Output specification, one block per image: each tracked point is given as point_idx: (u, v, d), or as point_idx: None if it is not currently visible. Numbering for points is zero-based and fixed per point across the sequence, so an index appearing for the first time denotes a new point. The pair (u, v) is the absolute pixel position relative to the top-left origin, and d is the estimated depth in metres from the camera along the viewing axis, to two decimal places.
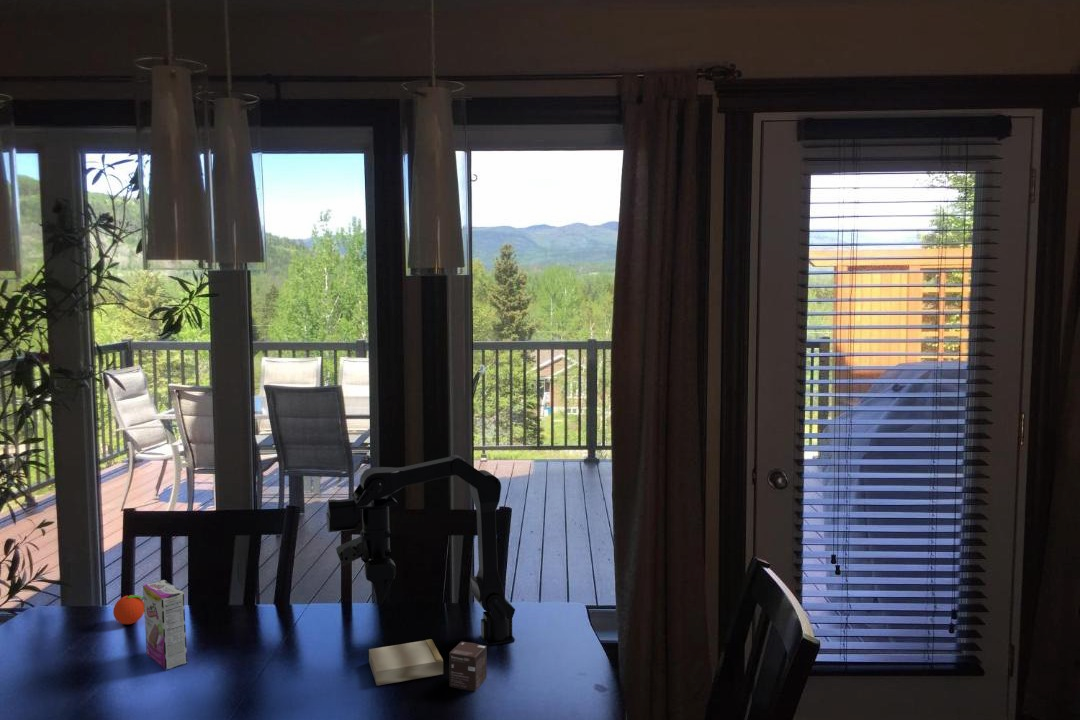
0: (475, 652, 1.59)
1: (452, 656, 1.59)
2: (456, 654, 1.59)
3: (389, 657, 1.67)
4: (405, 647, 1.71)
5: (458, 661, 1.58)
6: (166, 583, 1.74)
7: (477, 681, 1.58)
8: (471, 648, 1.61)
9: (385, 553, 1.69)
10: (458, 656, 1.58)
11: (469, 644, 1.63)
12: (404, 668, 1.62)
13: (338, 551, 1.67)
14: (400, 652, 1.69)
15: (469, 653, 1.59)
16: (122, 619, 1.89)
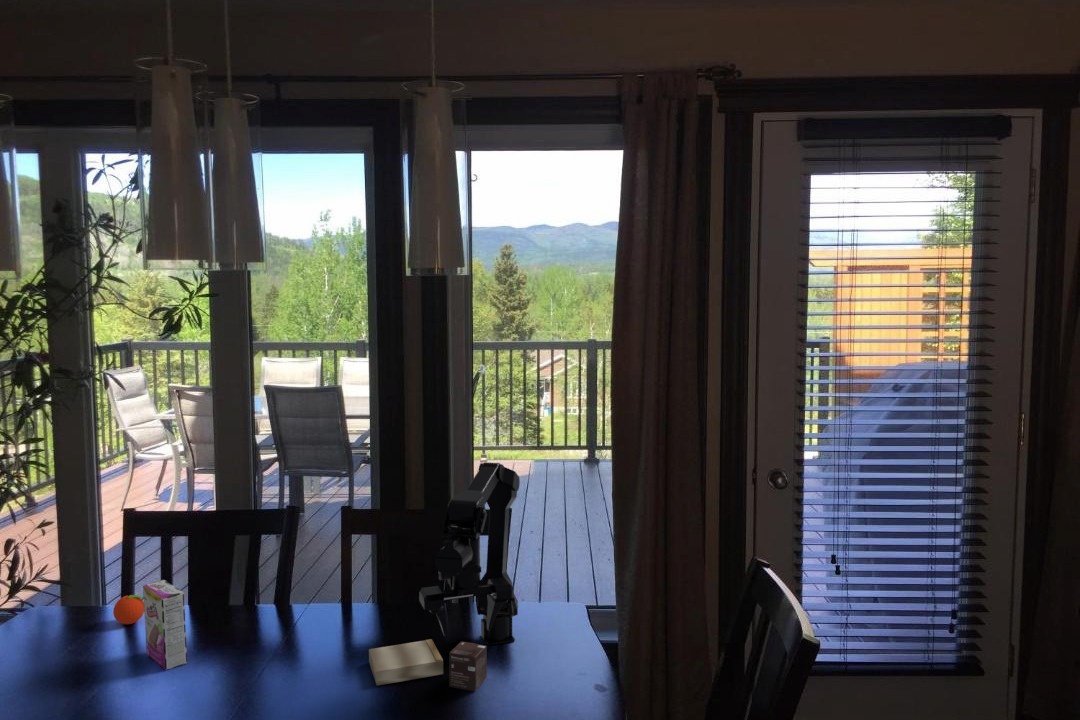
0: (475, 652, 1.59)
1: (452, 656, 1.59)
2: (456, 654, 1.59)
3: (389, 657, 1.67)
4: (405, 647, 1.71)
5: (458, 661, 1.58)
6: (166, 583, 1.74)
7: (477, 681, 1.58)
8: (471, 648, 1.61)
9: (457, 589, 1.58)
10: (458, 656, 1.58)
11: (469, 644, 1.63)
12: (404, 668, 1.62)
13: None
14: (400, 652, 1.69)
15: (469, 653, 1.59)
16: (122, 619, 1.89)
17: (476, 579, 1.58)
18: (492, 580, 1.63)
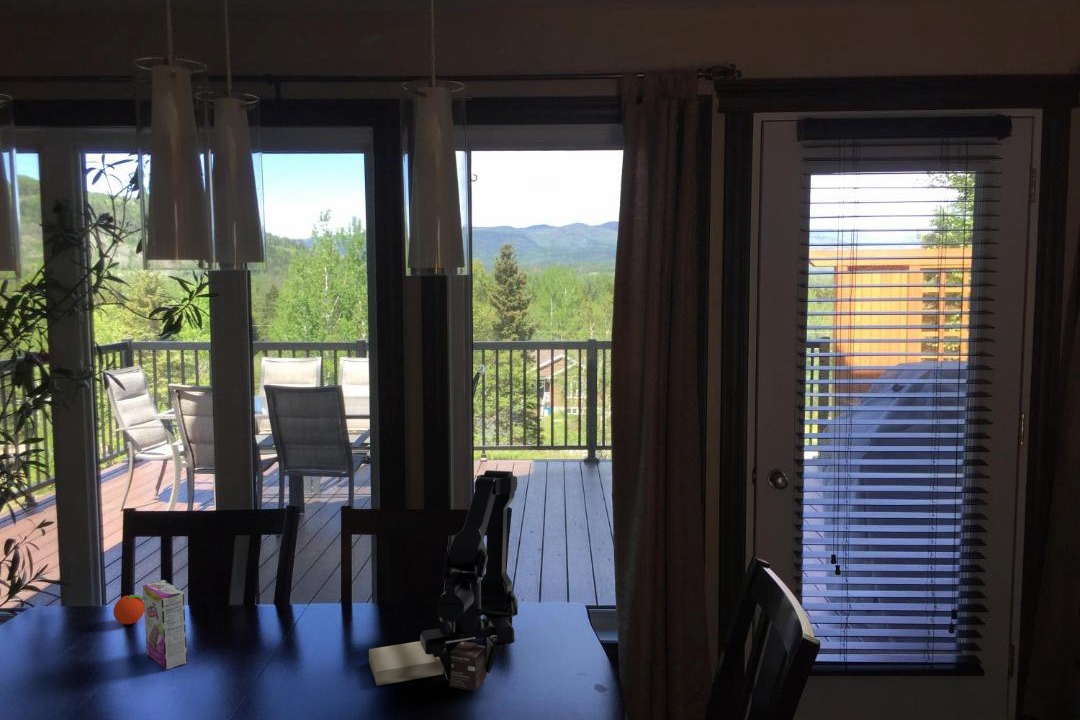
0: (475, 652, 1.59)
1: (452, 656, 1.59)
2: (456, 654, 1.59)
3: (389, 657, 1.67)
4: (405, 647, 1.71)
5: (458, 661, 1.58)
6: (166, 583, 1.74)
7: (477, 680, 1.58)
8: (471, 648, 1.61)
9: (458, 633, 1.58)
10: (458, 656, 1.58)
11: (469, 644, 1.63)
12: (404, 668, 1.62)
13: None
14: (400, 652, 1.69)
15: (469, 653, 1.59)
16: (122, 619, 1.89)
17: (477, 622, 1.59)
18: (493, 622, 1.64)
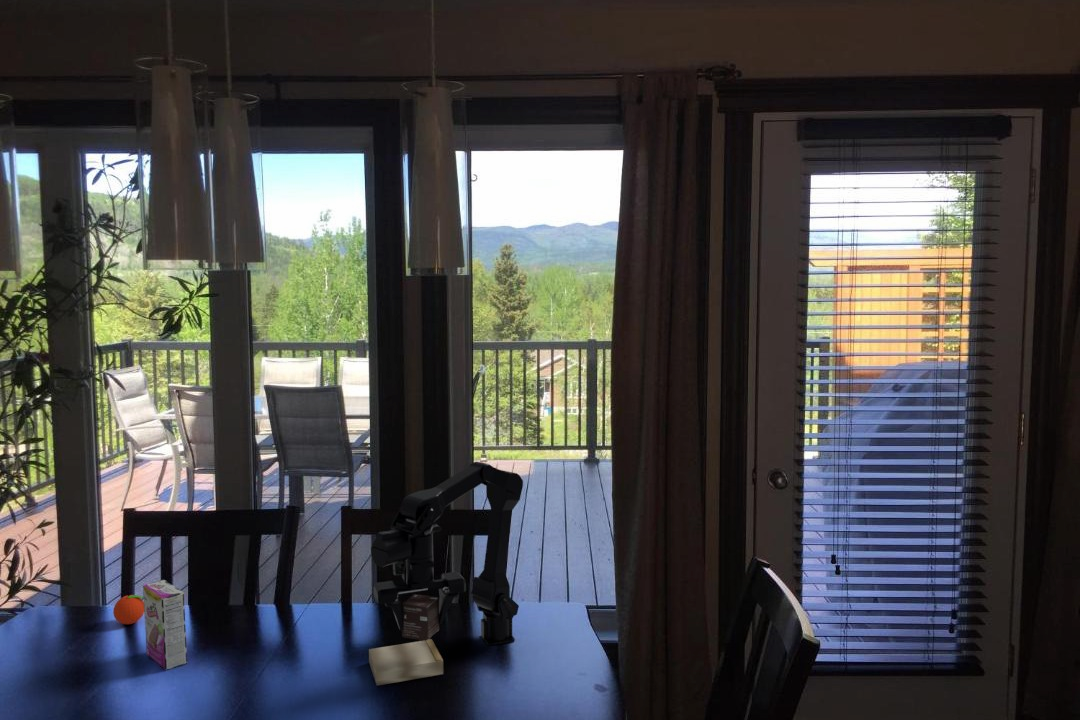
0: (427, 603, 1.63)
1: (405, 607, 1.63)
2: (409, 605, 1.62)
3: (389, 657, 1.67)
4: (405, 647, 1.71)
5: (410, 612, 1.62)
6: (166, 583, 1.74)
7: (429, 630, 1.62)
8: (423, 600, 1.65)
9: (410, 584, 1.62)
10: (411, 607, 1.62)
11: (422, 596, 1.67)
12: (404, 668, 1.62)
13: None
14: (400, 652, 1.69)
15: (421, 604, 1.63)
16: (122, 619, 1.89)
17: (429, 573, 1.63)
18: (445, 575, 1.68)
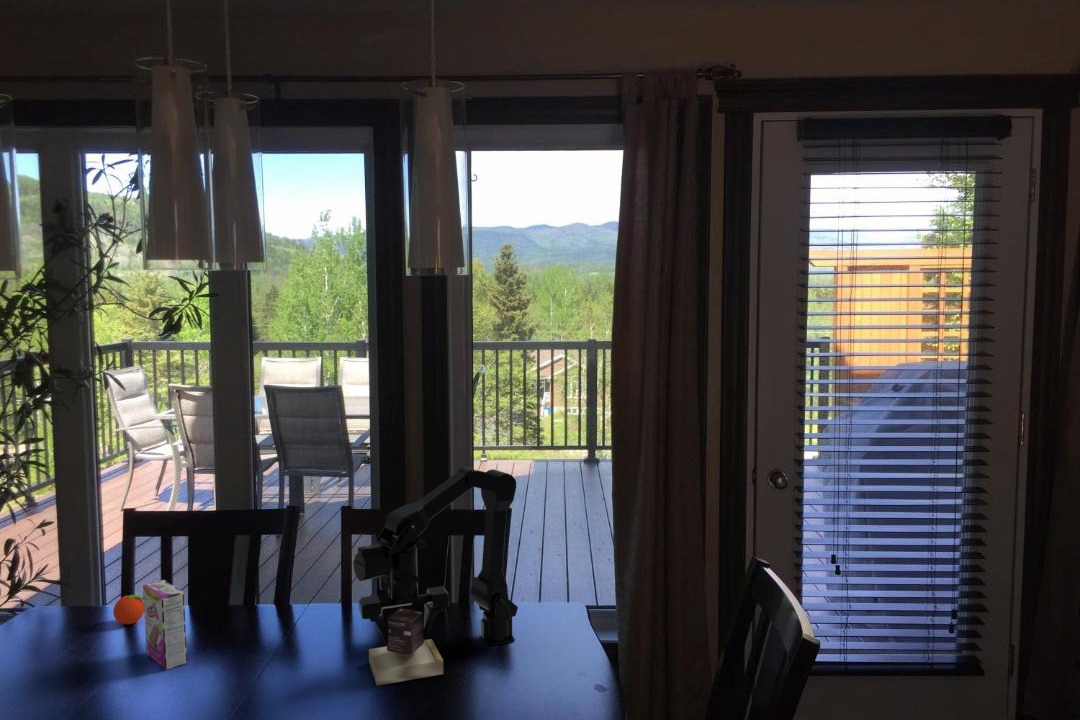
0: (411, 618, 1.65)
1: (389, 621, 1.65)
2: (393, 619, 1.65)
3: (389, 657, 1.67)
4: None
5: (394, 626, 1.65)
6: (166, 583, 1.74)
7: (413, 645, 1.65)
8: (408, 614, 1.67)
9: (394, 599, 1.64)
10: (395, 621, 1.64)
11: (407, 610, 1.69)
12: (404, 668, 1.62)
13: None
14: None
15: (405, 619, 1.65)
16: (122, 619, 1.89)
17: (413, 588, 1.65)
18: (430, 589, 1.70)
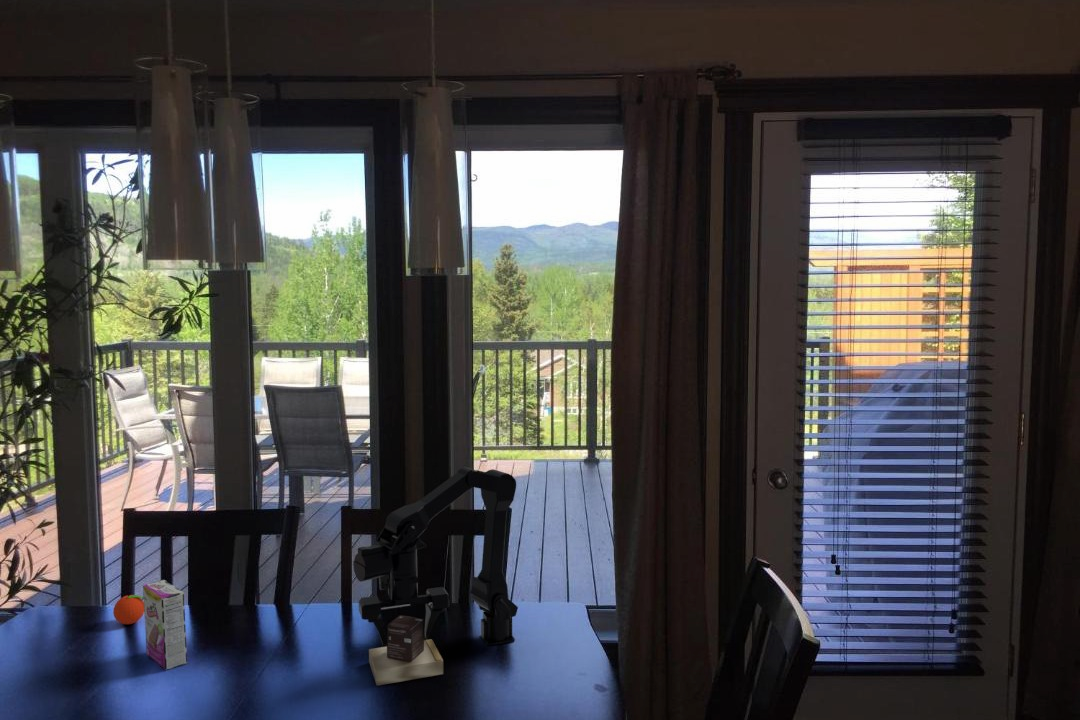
0: (411, 625, 1.65)
1: (389, 628, 1.65)
2: (393, 626, 1.65)
3: None
4: None
5: (395, 634, 1.65)
6: (166, 583, 1.74)
7: (413, 652, 1.65)
8: (408, 621, 1.67)
9: (394, 599, 1.64)
10: (395, 629, 1.65)
11: (407, 617, 1.69)
12: (404, 668, 1.62)
13: None
14: None
15: (405, 626, 1.65)
16: (122, 619, 1.89)
17: (412, 589, 1.65)
18: (430, 590, 1.70)
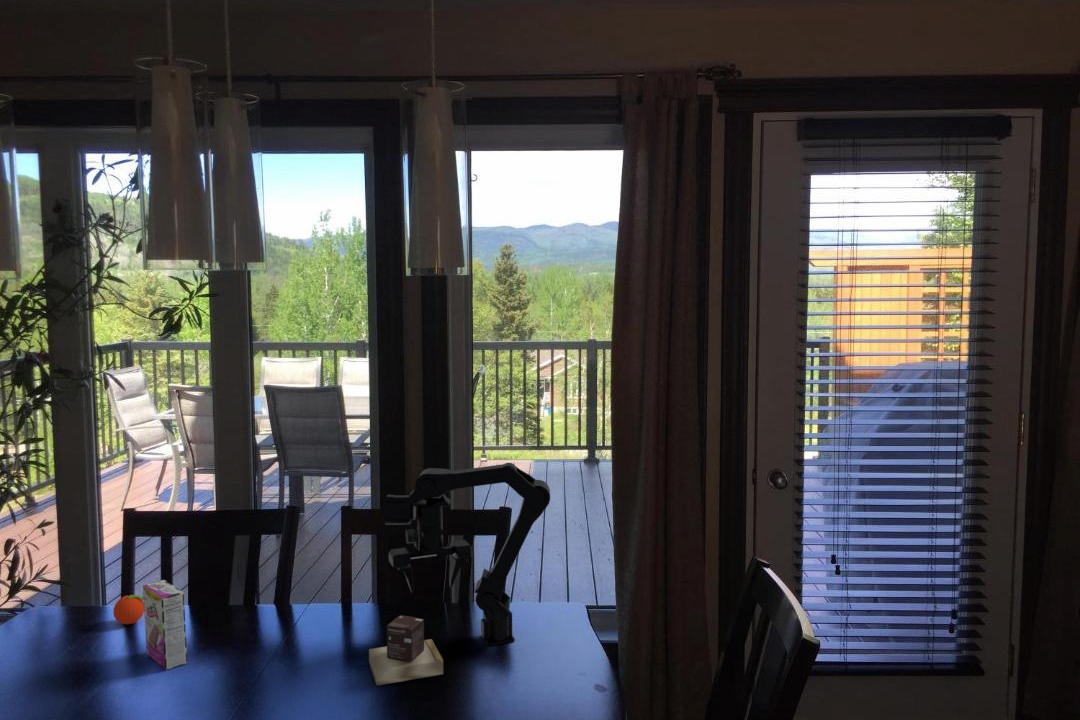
0: (411, 625, 1.65)
1: (389, 628, 1.65)
2: (393, 626, 1.65)
3: None
4: None
5: (395, 634, 1.65)
6: (166, 583, 1.74)
7: (413, 652, 1.65)
8: (408, 621, 1.67)
9: (422, 550, 1.78)
10: (395, 629, 1.65)
11: (407, 617, 1.69)
12: (404, 668, 1.62)
13: None
14: None
15: (405, 626, 1.65)
16: (122, 619, 1.89)
17: (439, 540, 1.79)
18: (453, 542, 1.84)
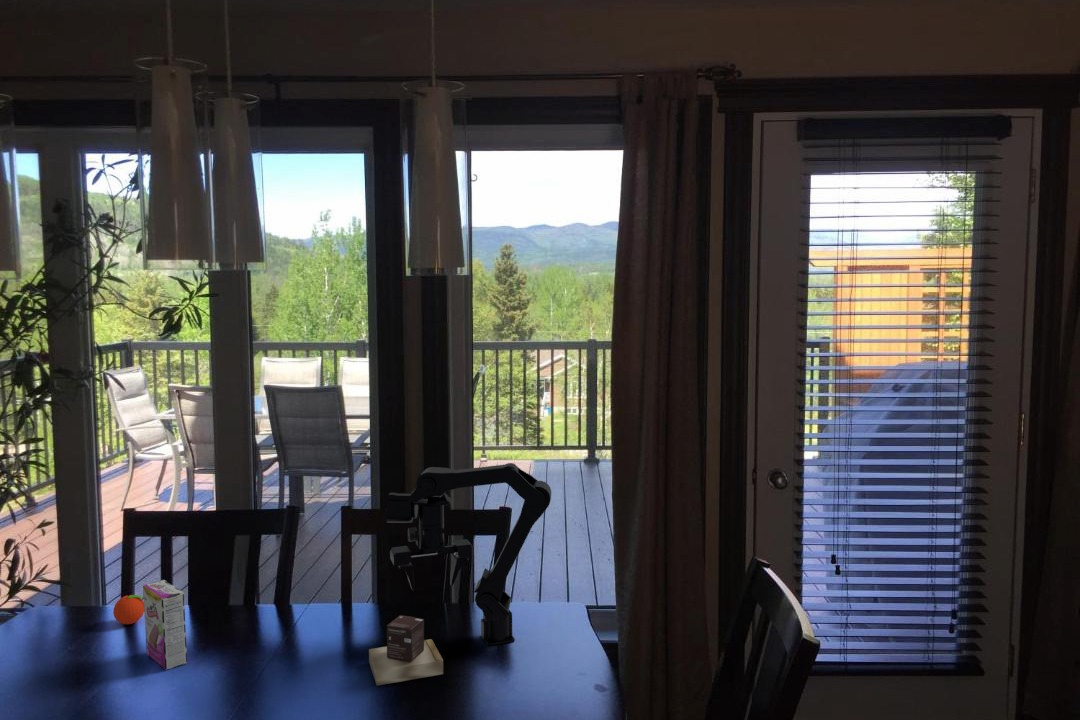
0: (411, 625, 1.65)
1: (389, 628, 1.65)
2: (393, 626, 1.65)
3: None
4: None
5: (395, 634, 1.65)
6: (166, 583, 1.74)
7: (413, 652, 1.65)
8: (408, 621, 1.67)
9: (423, 548, 1.79)
10: (395, 629, 1.65)
11: (407, 617, 1.69)
12: (404, 668, 1.62)
13: None
14: None
15: (405, 626, 1.65)
16: (122, 619, 1.89)
17: (440, 539, 1.79)
18: (455, 541, 1.84)
